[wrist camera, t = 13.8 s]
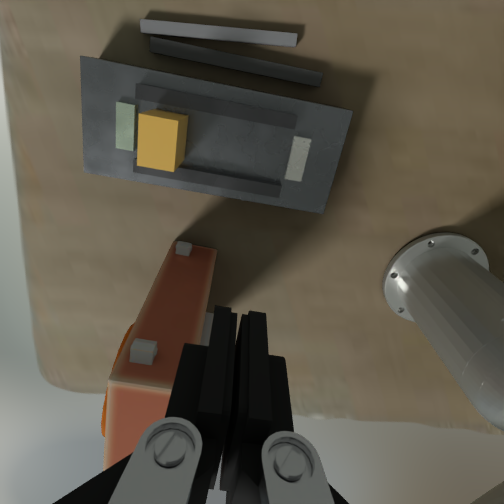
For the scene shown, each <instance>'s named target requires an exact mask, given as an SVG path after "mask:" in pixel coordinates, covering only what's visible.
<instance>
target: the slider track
mask: <svg viewBox="0 0 504 504" xmlns="http://www.w3.org/2000/svg"><path fill="white" fill-rule="evenodd" d="M80 66H81V96H82V127H83V157H84V172H86V173H91V174H97V175H103V176H108V177H114V178H120V179H126V180H131V181H137V182H143V183H148V184H154V185H160V186H166V187H171V188H177V189H183V190H188V191H194V192H200V193H206V194H211V195H217V196H223V197H228V198H234V199H240V200H246V201H251V202H257V203H263V204H268V205H274V206H280V207H286V208H291V209H297V210H303V211H308V212H314V213H320V214H323V213H324V210H325V206H326V203H327V199H328V196H329V193H330V189H331V186H332V182H333V179H334V176H335V172H336V169H337V165H338V162H339V158H340V155H341V152H342V148H343V145H344V141H345V138H346V134H347V131H348V128H349V124H350V121H351V117H352V114H353V111H351V110H348V109H345V108H341V107H336V106H331V105H326V104H321V103H316V102H311V101H306V100H301V99H296V98H291V97H287V96H282V95H277V94H272V93H267V92H262V91H257V90H252V89H247V88H242V87H237V86H233V85H228V84H223V83H218V82H213V81H208V80H203V79H198V78H193V77H188V76H183V75H179V74H174V73H169V72H164V71H159V70H154V69H149V68H144V67H139V66H134V65H129V64H125V63H120V62H115V61H110V60H105V59H100V58H94V57H87V56H80ZM152 109H160V110H165V111H170V112H175V113H180V114H185V115H189V116H188V126H187V137H186V147H185V158H184V161H183V162H182V163H181V164H180V165H179V167H178V168H177V169H176V170H175V172H170V171H165V170H159V169H154V168H148V167H142V166H137V149H138V121H139V113H142V112H145V111H149V110H152Z"/></svg>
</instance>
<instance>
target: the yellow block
mask: <svg viewBox="0 0 504 504" xmlns="http://www.w3.org/2000/svg"><path fill="white" fill-rule="evenodd" d="M188 116H189V115H185V114H180V113H175V112H170V111H165V110H160V109H152V110H149V111H145V112H142V113H139V121H138V149H137V166H142V167H148V168H154V169H159V170H165V171H170V172H175V170H176V169H177V168H178V167H179V165H180V164H181V163H182V162H183V161H184V158H185V147H186V137H187V126H188Z"/></svg>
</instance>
